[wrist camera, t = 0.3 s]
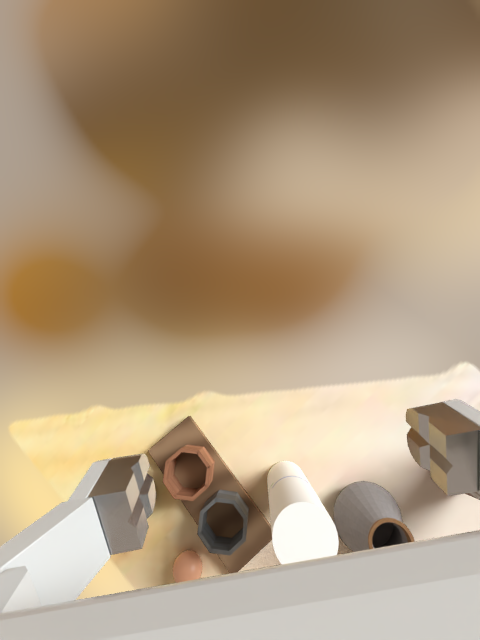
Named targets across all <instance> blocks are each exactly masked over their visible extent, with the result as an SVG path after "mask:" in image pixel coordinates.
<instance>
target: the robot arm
mask: <svg viewBox="0 0 480 640" xmlns="http://www.w3.org/2000/svg"><path fill="white" fill-rule="evenodd" d="M406 422H407V423H408V424H409V425H410V426H411V429H410V430H409V432H408V433H407V442H408V447H409V450H410V452H411V455H412V456H413V458H414V460H415V461H416V462H417V463H418V464H419V466H420V467H422V468H424V469H427V470H429V471H430V472H431V479H432V480H433V481H434V482H435V483H436V484H437V485H438V486H439V487H440V488H441V489H442V490H443V492H444V493H445V494H446V495H447V496H450V495H457V494H464V493H471V492H478V491H480V411H478V410H476V409H475V408H473V407H471V406H470V405H468V404H467V403H465V402H463V401H462V400H457V399H454V400H449V401H444V402H440V403H435V404H430V405H425V406H420V407H415V408H410V409H407V412H406ZM149 466H150V465H149V461H148V458H147V456H146V455H145V454H138V455H132V456H125V457H118V458H113V459H105V460H100V461H96V462H94V463H93V464H92V465H91V467H90V468H89V470H88V471H87V473H86V474H85V476H84V477H83V479H82V480H81V482H80V483H79V485H78V486H77V488H76V489H75V491H74V492H73V494H72V495H71V497H70V498H69V500H68V501H67V502H62V503H60V504H59V505H58V506H56V507H55V508H53V509H52V510H51V511H49V512H48V513H47V514H45V515H44V516H42V517H41V518H40V519H38V520H37V521H35V522H34V523H33V524H31V525H30V526H29V527H27V528H26V529H24V530H23V531H22V532H20V533H19V534H18V535H16V536H15V537H13V538H12V539H11V540H9V541H8V542H6V543H5V544H4V545H2V546H1V547H0V640H480V530H479V531H473V532H467V533H461V534H456V535H450V536H444V537H438V538H433V539H427V540H421V541H415V542H410V543H404V544H398V545H392V546H387V547H381V548H375V549H369V550H363V551H358V552H352V553H346V554H340V555H334V556H329V557H323V558H317V559H311V560H305V561H299V562H293V563H288V564H282V565H276V566H270V567H264V568H259V569H253V570H247V571H241V572H236V573H230V574H224V575H218V576H213V577H207V578H201V579H195V580H190V581H184V582H178V583H172V584H167V585H161V586H155V587H149V588H144V589H138V590H132V591H126V592H121V593H115V594H109V595H103V596H97V597H91V598H86V599H79V600H76V598H77V597H78V596H79V595H80V594H81V592H82V591H83V590H84V589H85V587H86V586H87V585H88V584H89V583H90V581H91V580H92V579H93V578H94V577H95V575H96V574H97V573H98V572H99V570H100V569H101V568H102V567H103V566H104V564H105V563H106V562H107V561H108V559H109V558H110V557H111V556H110V555H113V554H118V553H123V552H128V551H133V550H137V549H142V547H143V544H144V540H145V537H146V534H147V530H148V527H149V526H148V522H147V518H148V517H149V516H150V515H151V514H152V513H153V510H154V506H155V497H156V491H155V484H154V480H153V478H152V477H151V476H150V475H149V474H147V472H148V469H149Z"/></svg>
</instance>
